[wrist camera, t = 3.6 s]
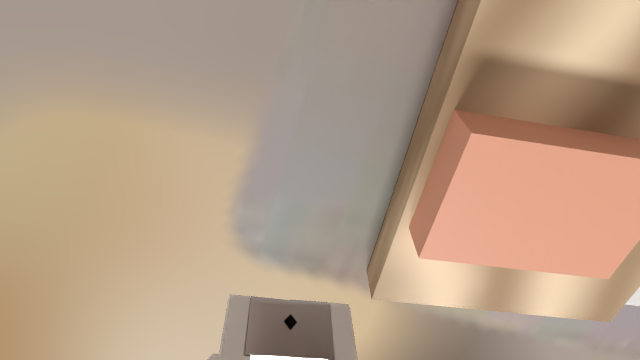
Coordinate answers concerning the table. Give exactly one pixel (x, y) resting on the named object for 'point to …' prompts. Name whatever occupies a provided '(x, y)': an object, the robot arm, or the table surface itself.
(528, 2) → the riser
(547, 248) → the pink rectangular block
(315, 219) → the table surface
